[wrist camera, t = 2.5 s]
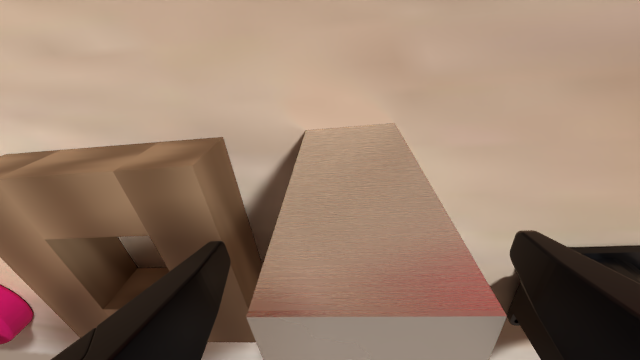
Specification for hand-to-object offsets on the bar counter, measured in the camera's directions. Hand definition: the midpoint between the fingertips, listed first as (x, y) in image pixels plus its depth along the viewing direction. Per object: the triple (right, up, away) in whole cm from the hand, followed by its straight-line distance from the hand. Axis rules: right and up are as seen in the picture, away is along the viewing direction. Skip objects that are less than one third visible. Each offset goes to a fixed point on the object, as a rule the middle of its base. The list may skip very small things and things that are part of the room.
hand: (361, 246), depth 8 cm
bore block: (-11, -1, +8) cm, 14 cm away
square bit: (0, +3, +5) cm, 5 cm away
